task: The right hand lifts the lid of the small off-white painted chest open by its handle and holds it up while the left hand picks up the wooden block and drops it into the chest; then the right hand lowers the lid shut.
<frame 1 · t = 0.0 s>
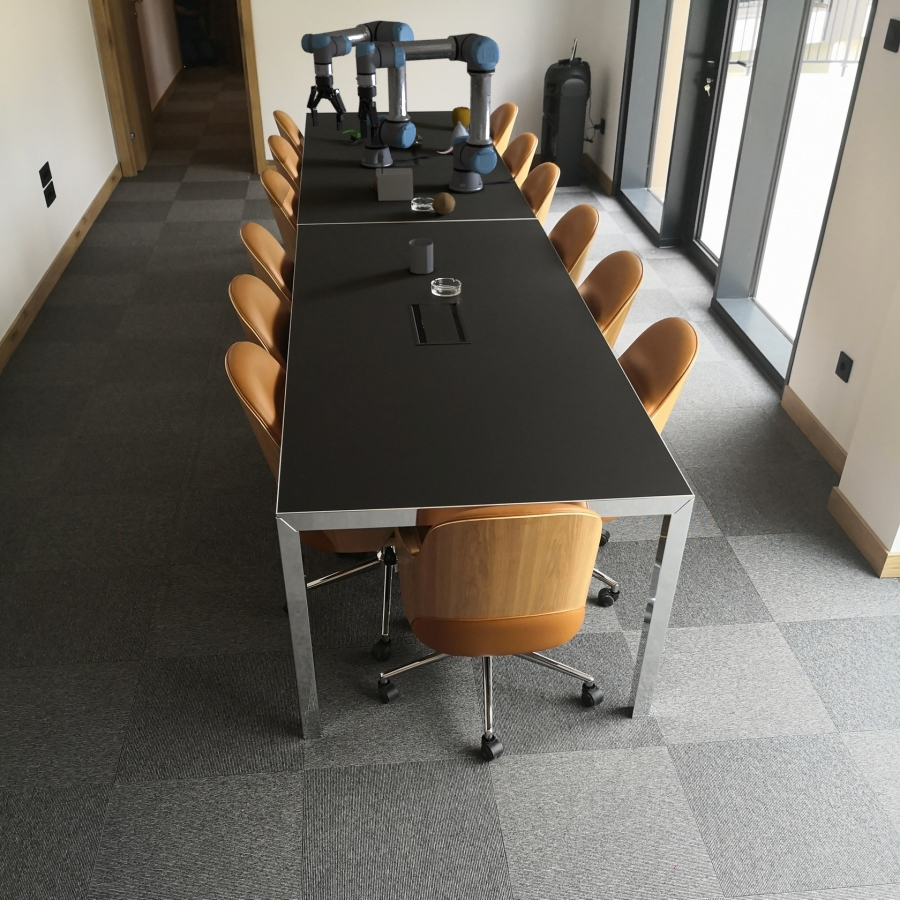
left hand: (327, 128, 372), 28 cm above the table, tool pointing down, fingers open, 13 cm apart
right hand: (369, 141, 352), 28 cm above the table, tool pointing down, fingers open, 13 cm apart
chest: (395, 197, 383), on the table
block: (379, 190, 392), on the table
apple: (461, 130, 491), on the table
potato: (443, 213, 363), on the table
toy: (453, 155, 444), on the table
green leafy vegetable: (368, 143, 466), on the table
cup: (421, 270, 308), on the table
lid: (393, 163, 375), point 15 cm above the table, hinge at -0.1°
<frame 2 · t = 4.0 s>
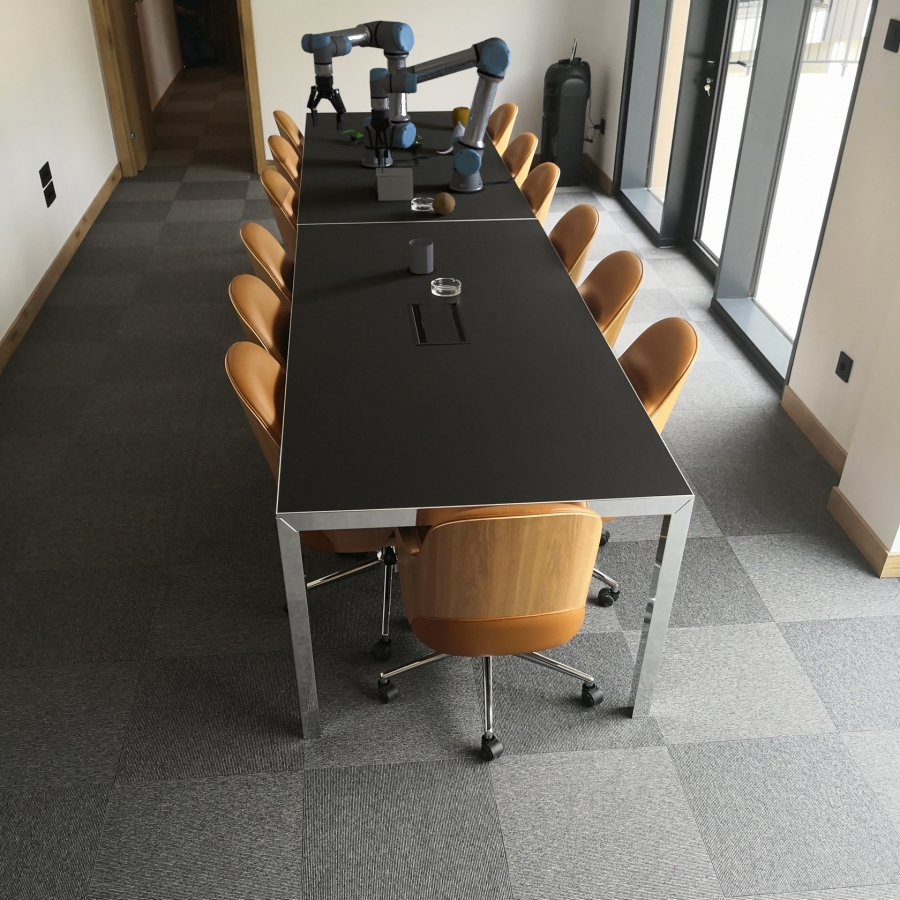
left hand: (327, 128, 372), 28 cm above the table, tool pointing down, fingers open, 13 cm apart
right hand: (382, 165, 375), 14 cm above the table, tool pointing down, fingers closed on lid, 2 cm apart
lid: (394, 162, 375), point 15 cm above the table, hinge at 0.7°, touching right hand
everything else where it was.
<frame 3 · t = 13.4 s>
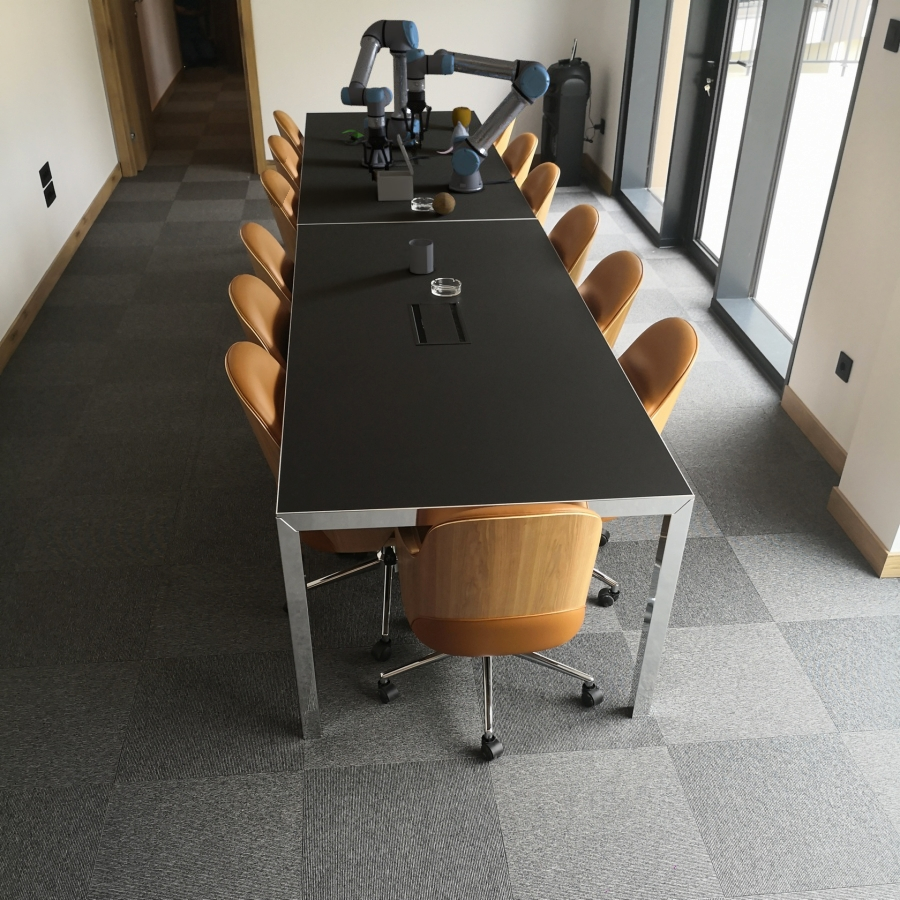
left hand: (379, 179, 390), 4 cm above the table, tool pointing down, fingers closed on block, 5 cm apart
right hand: (417, 148, 372), 21 cm above the table, tool pointing down, fingers closed on lid, 2 cm apart
block: (379, 180, 390), point 4 cm above the table, touching left hand
lid: (413, 151, 373), point 20 cm above the table, hinge at 68.9°, touching right hand
everything else where it was.
when the left hand's fingers open (15 cm above the table, at t = 16.4 s): block drops 10 cm and tips over, resting on chest.
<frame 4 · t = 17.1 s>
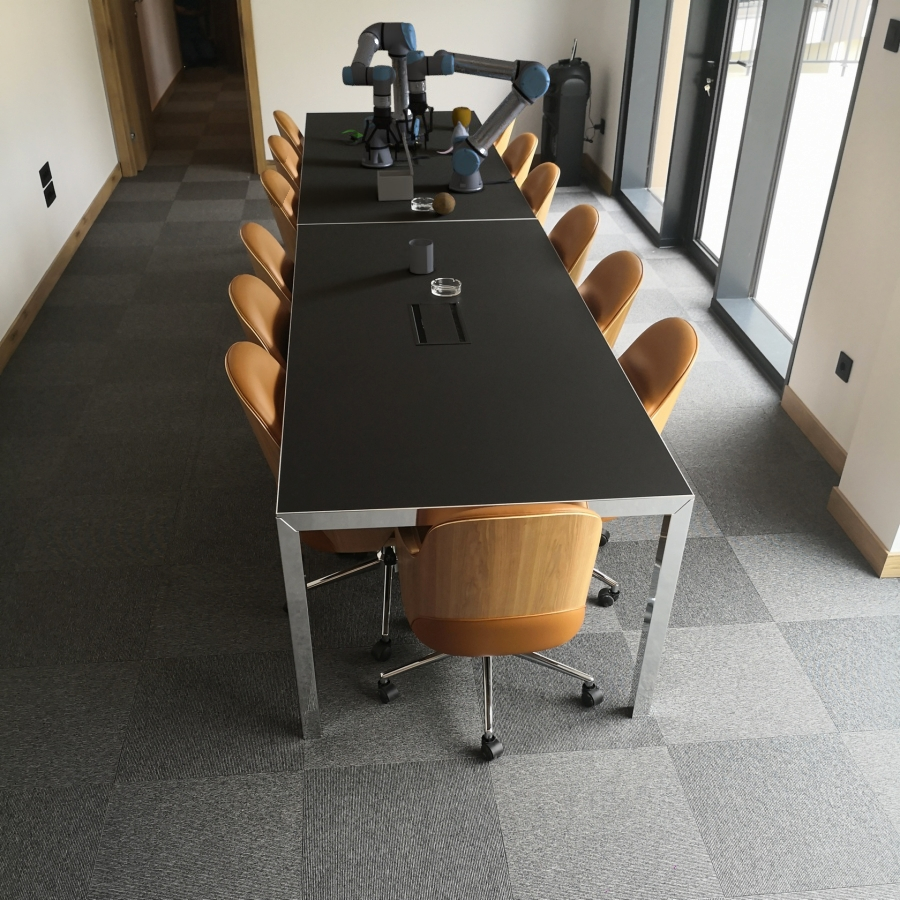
left hand: (382, 159, 374), 16 cm above the table, tool pointing down, fingers open, 11 cm apart
right hand: (420, 149, 372), 20 cm above the table, tool pointing down, fingers open, 4 cm apart
chest: (395, 196, 383), on the table, touching block
block: (392, 185, 381), point 5 cm above the table, tilted 120°, touching chest
lid: (416, 151, 372), point 20 cm above the table, hinge at 78.0°, touching left hand, right hand
everything else where it was.
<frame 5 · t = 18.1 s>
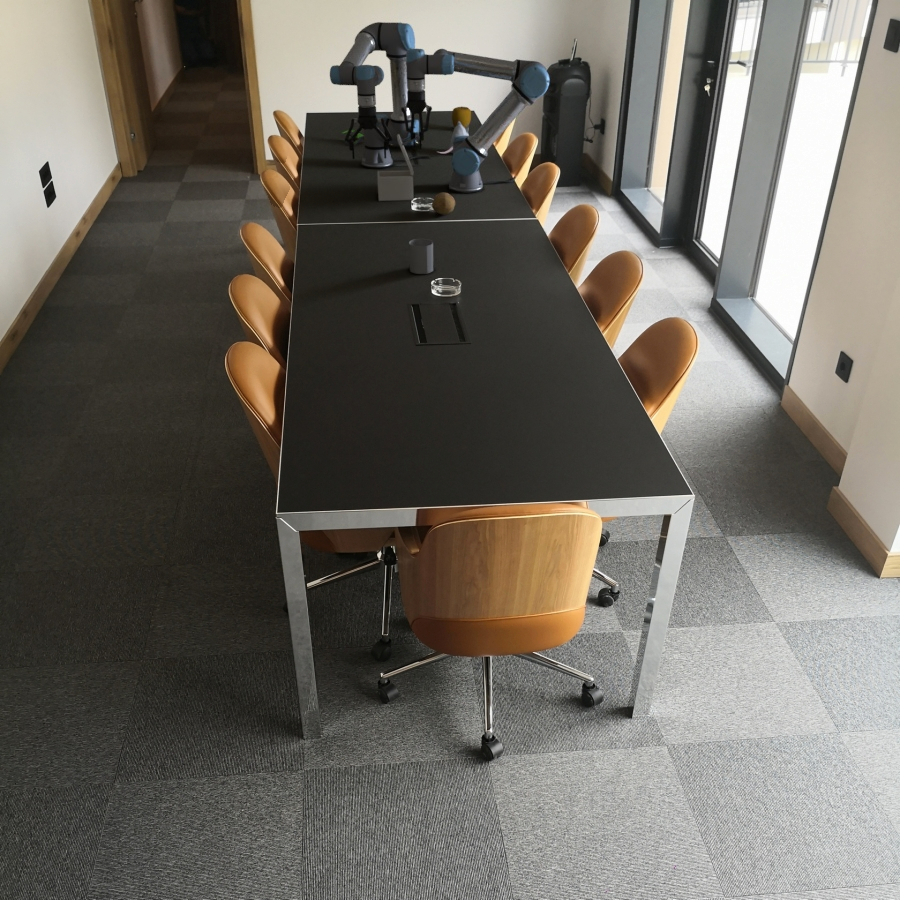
left hand: (369, 158, 373), 17 cm above the table, tool pointing down, fingers open, 13 cm apart
right hand: (417, 148, 372), 21 cm above the table, tool pointing down, fingers closed on lid, 2 cm apart
lid: (414, 151, 373), point 20 cm above the table, hinge at 68.8°, touching right hand
everything else where it was.
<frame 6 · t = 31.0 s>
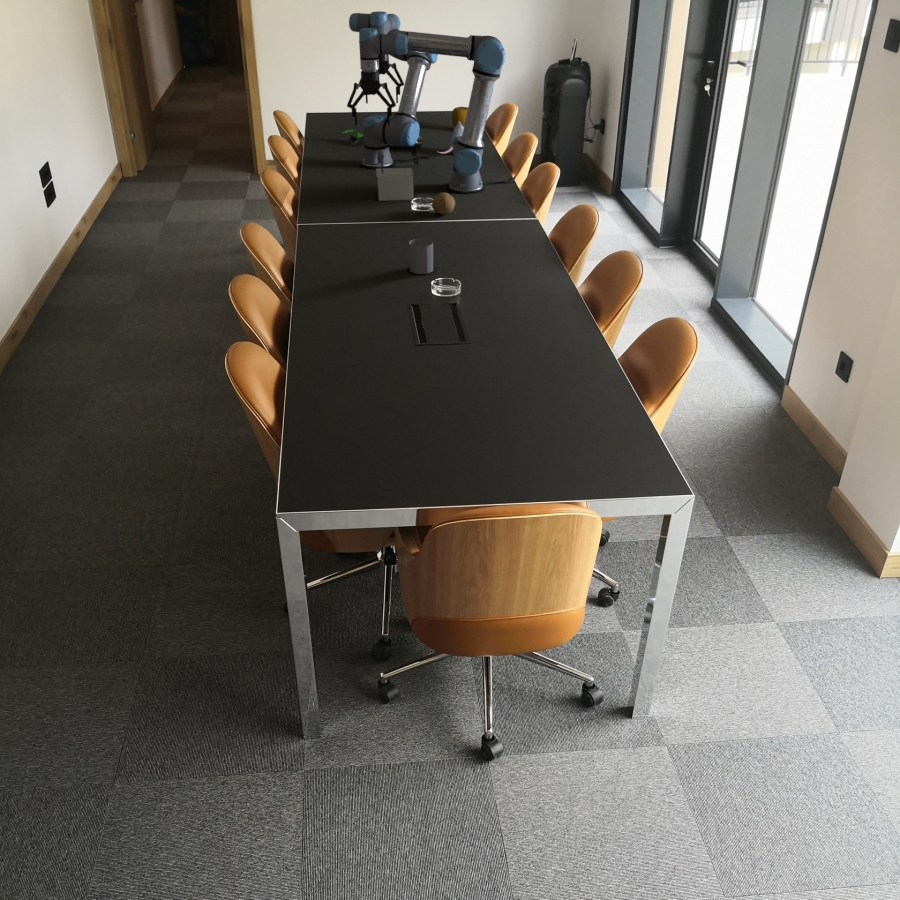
left hand: (382, 102, 390), 34 cm above the table, tool pointing down, fingers open, 13 cm apart
right hand: (372, 124, 366), 31 cm above the table, tool pointing down, fingers open, 13 cm apart
lid: (394, 162, 375), point 15 cm above the table, hinge at -0.1°
everything else where it was.
at the end: block inside the target area in the chest (2.0 cm from its centre), point 4.6 cm above the chest's base; lid at +0° (first picture: +0°); the left hand is holding nothing; the right hand is holding nothing; chest tilted 0°; chest moved 0.1 cm from its start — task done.
